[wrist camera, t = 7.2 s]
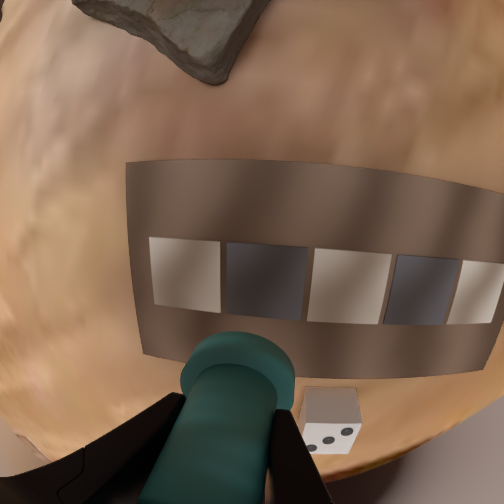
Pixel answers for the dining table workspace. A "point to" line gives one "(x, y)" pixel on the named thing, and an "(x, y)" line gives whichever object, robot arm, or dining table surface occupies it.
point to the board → (317, 264)
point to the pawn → (223, 423)
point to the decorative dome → (0, 2)
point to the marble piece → (185, 29)
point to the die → (329, 419)
